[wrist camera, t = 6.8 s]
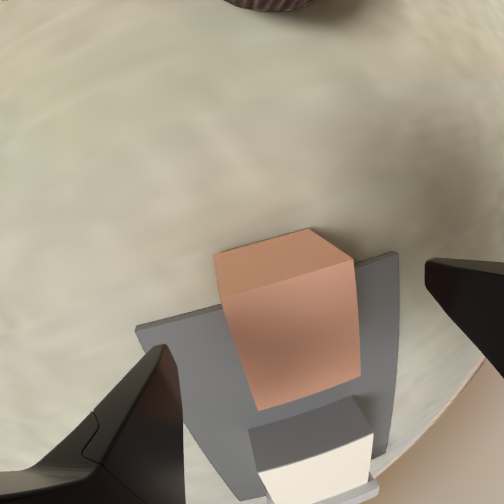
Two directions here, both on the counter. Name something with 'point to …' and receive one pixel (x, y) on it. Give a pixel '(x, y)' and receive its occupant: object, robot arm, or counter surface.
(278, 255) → the stub
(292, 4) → the cupcake
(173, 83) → the counter surface
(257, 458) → the grey flat tray
